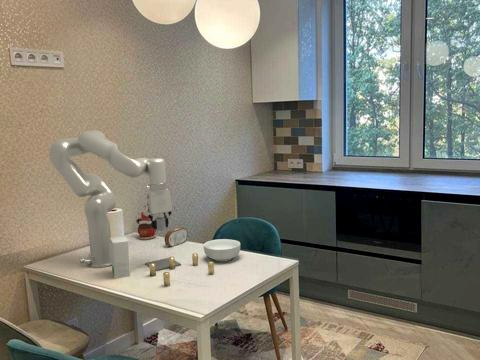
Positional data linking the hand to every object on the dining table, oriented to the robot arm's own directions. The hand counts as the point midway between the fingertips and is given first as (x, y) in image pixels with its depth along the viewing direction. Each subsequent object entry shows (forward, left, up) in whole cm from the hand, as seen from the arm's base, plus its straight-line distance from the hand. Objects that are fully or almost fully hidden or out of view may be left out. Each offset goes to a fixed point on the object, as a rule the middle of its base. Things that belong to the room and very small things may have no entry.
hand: (160, 227), depth 205 cm
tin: (+19, +25, -17) cm, 36 cm away
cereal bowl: (+25, -10, -17) cm, 32 cm away
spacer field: (+1, -16, -17) cm, 23 cm away
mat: (0, 0, -17) cm, 17 cm away
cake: (+12, +47, -17) cm, 52 cm away
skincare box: (-19, 0, -17) cm, 26 cm away
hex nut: (0, 0, -1) cm, 1 cm away
